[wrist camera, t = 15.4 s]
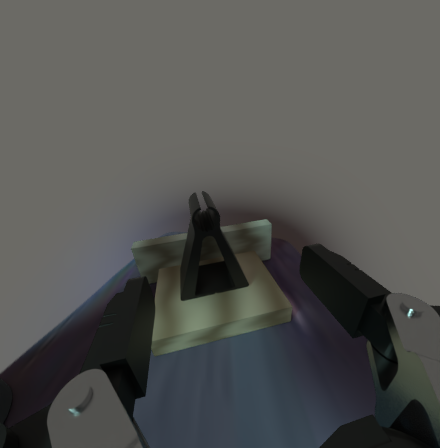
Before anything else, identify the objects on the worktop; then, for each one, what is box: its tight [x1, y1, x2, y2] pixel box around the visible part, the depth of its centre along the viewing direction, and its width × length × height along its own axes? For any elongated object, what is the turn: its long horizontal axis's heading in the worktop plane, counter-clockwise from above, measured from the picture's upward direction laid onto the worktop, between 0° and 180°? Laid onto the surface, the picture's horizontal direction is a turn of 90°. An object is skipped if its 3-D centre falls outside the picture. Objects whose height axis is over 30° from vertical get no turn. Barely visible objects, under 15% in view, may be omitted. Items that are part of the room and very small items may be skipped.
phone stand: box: [180, 191, 249, 301], centre depth 24 cm, size 9×6×12 cm, turn 101°
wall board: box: [131, 219, 292, 356], centre depth 26 cm, size 22×14×7 cm, turn 102°
